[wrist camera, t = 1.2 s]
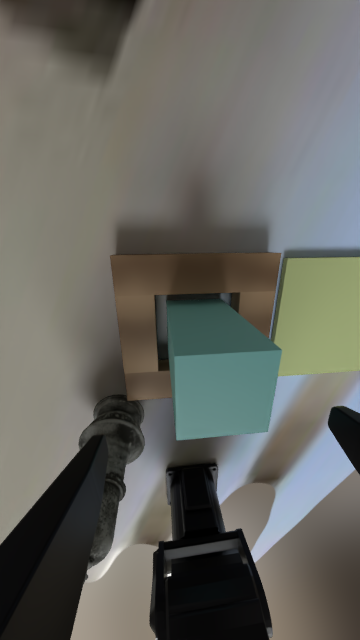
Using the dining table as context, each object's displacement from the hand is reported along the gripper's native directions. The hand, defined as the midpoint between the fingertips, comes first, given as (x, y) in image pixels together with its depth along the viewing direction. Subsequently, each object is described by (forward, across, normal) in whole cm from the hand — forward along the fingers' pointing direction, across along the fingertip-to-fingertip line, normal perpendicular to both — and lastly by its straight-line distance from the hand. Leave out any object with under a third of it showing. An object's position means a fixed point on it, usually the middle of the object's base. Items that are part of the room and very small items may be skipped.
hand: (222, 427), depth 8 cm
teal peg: (+12, -1, 0) cm, 12 cm away
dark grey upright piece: (+12, +8, +10) cm, 18 cm away
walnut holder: (+12, -1, 0) cm, 12 cm away
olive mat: (+12, -15, +1) cm, 19 cm away
